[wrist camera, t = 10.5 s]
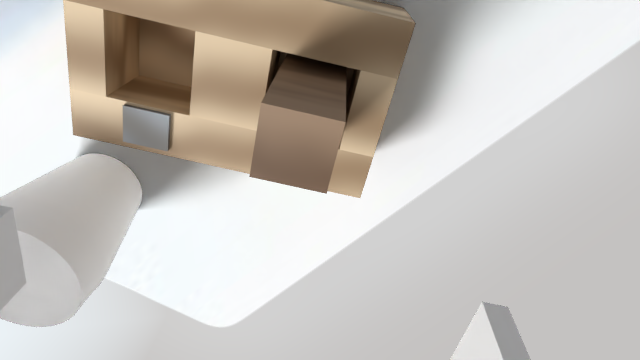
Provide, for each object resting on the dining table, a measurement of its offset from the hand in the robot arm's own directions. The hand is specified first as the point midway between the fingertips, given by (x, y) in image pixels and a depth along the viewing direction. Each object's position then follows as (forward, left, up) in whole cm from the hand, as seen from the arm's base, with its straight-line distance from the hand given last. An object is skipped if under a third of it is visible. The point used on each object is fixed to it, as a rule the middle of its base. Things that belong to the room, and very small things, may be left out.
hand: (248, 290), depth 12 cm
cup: (+14, -16, -23) cm, 31 cm away
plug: (0, 0, -22) cm, 22 cm away
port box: (0, -5, -23) cm, 23 cm away
